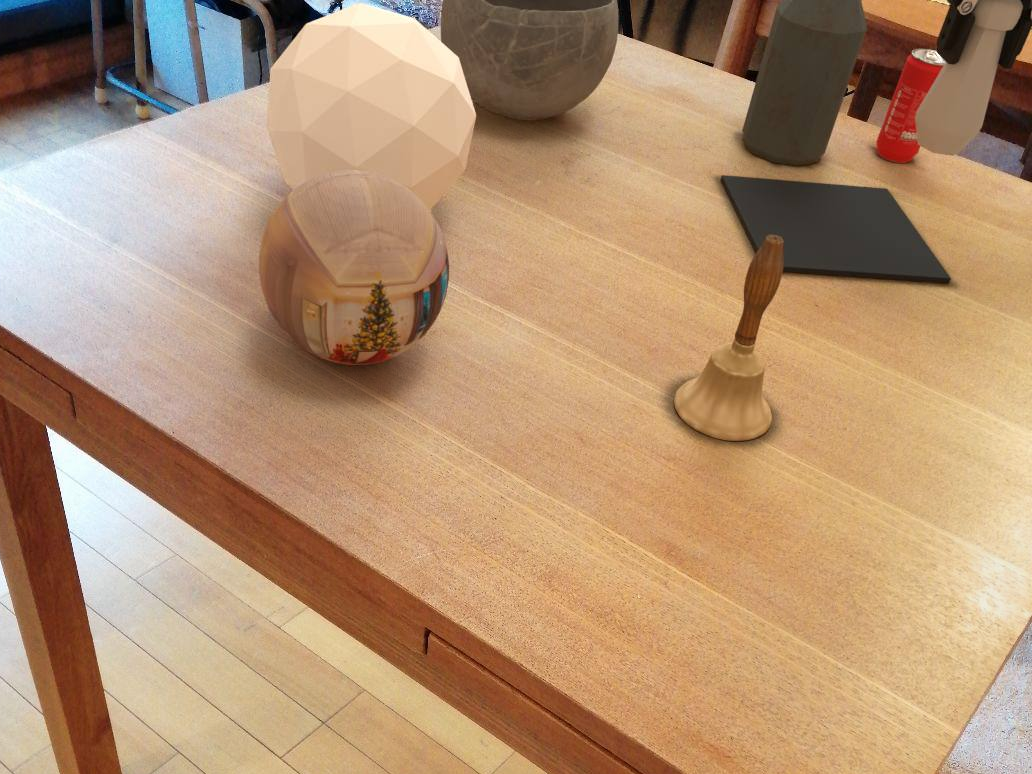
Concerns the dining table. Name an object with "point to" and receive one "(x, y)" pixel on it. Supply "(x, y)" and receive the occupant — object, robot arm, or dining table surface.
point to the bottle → (803, 79)
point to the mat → (834, 229)
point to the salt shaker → (966, 82)
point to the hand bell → (737, 363)
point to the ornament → (353, 267)
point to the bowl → (531, 51)
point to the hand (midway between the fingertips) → (973, 58)
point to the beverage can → (908, 106)
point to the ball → (371, 102)
